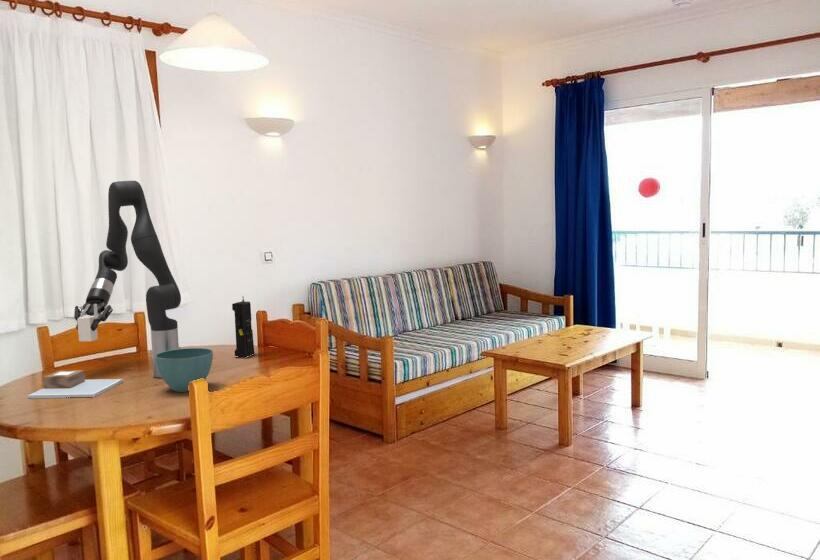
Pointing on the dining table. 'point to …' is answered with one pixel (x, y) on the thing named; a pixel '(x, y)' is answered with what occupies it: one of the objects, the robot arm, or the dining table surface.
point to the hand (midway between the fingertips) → (85, 329)
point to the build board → (79, 389)
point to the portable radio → (243, 329)
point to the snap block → (86, 328)
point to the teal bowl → (184, 366)
